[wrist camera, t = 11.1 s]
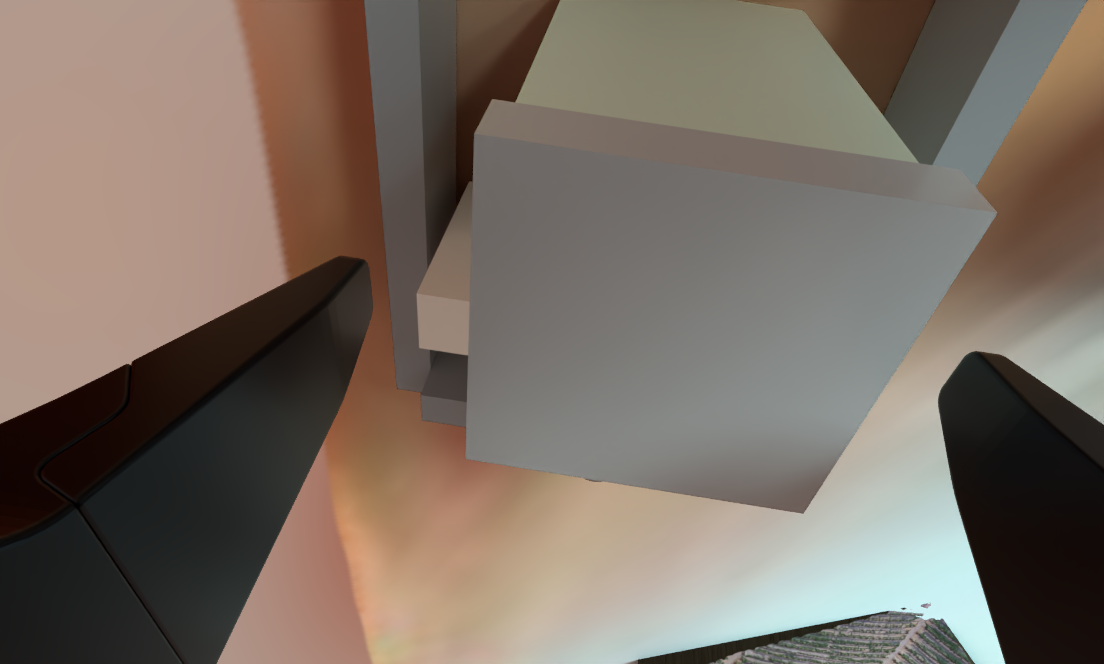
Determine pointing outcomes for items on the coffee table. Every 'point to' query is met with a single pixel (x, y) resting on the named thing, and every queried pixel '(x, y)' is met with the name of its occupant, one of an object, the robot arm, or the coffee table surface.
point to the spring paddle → (449, 287)
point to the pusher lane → (430, 134)
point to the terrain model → (838, 644)
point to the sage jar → (696, 253)
